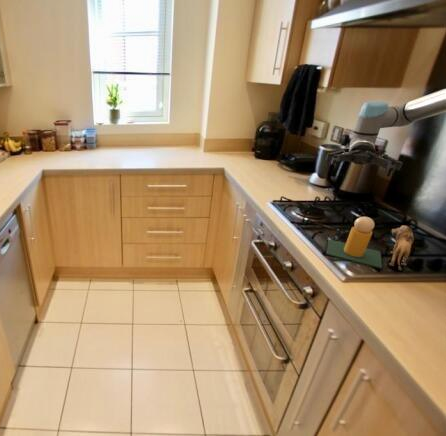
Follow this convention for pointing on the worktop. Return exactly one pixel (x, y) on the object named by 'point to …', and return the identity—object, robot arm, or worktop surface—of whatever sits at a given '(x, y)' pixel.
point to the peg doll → (359, 237)
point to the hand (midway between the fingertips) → (362, 168)
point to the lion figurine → (402, 244)
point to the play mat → (368, 258)
